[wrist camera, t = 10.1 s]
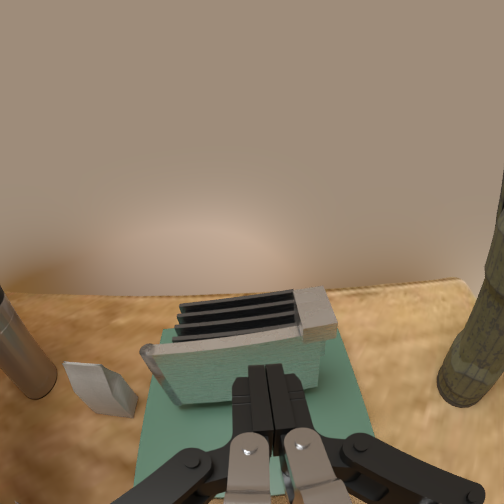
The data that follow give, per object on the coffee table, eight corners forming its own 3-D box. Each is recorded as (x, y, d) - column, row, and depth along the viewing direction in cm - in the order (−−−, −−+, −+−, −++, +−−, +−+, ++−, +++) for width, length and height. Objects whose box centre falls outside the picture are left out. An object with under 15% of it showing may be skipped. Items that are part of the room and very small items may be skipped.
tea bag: (133, 418, 31) (96, 377, 26) (95, 413, 31) (57, 373, 26) (138, 397, 34) (105, 354, 29) (101, 394, 34) (67, 352, 29)
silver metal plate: (171, 405, 30) (138, 357, 25) (172, 394, 31) (141, 344, 26) (317, 387, 30) (321, 333, 25) (314, 376, 31) (317, 320, 26)
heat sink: (137, 490, 21) (51, 441, 13) (165, 333, 45) (132, 256, 37) (382, 472, 20) (438, 417, 13) (329, 312, 45) (332, 227, 37)
